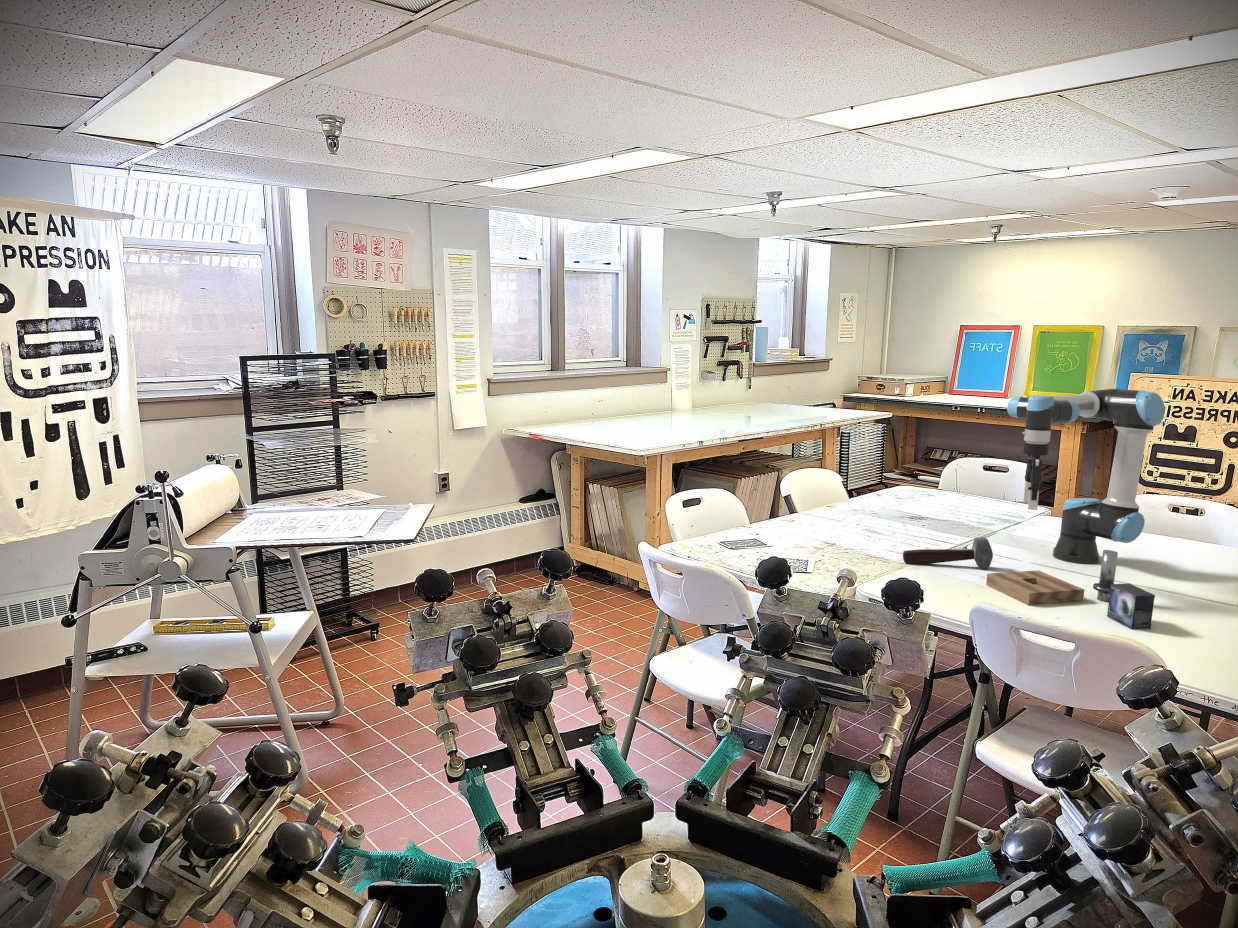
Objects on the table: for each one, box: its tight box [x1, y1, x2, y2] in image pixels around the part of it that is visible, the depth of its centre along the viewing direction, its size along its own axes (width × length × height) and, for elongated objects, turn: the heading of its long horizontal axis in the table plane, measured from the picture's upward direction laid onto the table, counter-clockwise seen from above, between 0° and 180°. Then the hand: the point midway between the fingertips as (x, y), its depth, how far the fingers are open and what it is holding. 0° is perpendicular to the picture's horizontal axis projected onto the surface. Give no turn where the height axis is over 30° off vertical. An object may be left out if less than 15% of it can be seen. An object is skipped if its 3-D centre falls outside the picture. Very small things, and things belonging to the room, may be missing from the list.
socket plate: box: [985, 569, 1085, 606], centre depth 253 cm, size 20×20×4 cm
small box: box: [1106, 582, 1156, 630], centre depth 228 cm, size 11×6×10 cm, turn 5°
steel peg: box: [1092, 549, 1119, 603], centre depth 246 cm, size 7×7×16 cm
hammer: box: [902, 536, 994, 571], centre depth 282 cm, size 5×11×30 cm
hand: (1030, 505), depth 258 cm, fingers open, 13 cm apart
